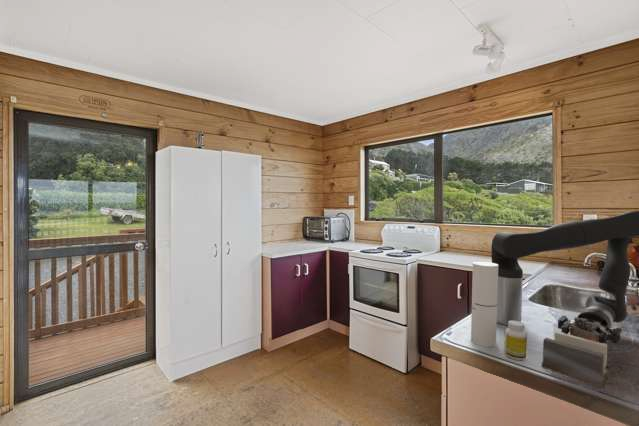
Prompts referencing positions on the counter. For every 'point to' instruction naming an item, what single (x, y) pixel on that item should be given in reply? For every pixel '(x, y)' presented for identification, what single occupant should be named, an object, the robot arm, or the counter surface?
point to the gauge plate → (583, 344)
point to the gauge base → (574, 362)
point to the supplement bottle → (515, 340)
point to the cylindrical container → (484, 303)
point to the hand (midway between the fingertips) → (582, 335)
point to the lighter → (584, 329)
